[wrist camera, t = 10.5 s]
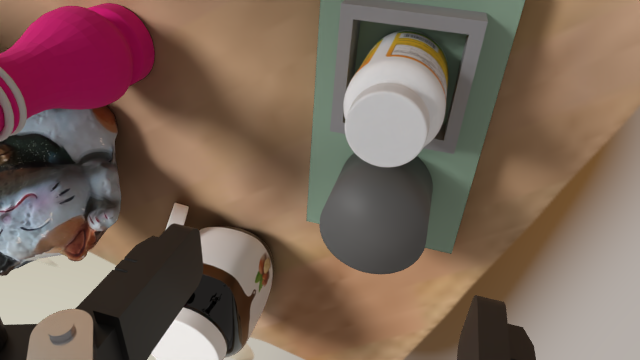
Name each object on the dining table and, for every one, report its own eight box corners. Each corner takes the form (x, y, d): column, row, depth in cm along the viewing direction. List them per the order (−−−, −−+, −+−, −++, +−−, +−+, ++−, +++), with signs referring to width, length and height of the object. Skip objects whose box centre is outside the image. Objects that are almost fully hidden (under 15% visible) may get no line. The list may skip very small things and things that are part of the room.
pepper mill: (66, 4, 36) (-266, 87, 20) (140, -12, 34) (-169, 66, 18) (104, 90, 40) (-154, 222, 23) (173, 81, 37) (-60, 221, 21)
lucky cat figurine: (110, 67, 38) (63, 207, 30) (159, 156, 48) (134, 280, 40) (-65, 81, 39) (-157, 223, 30) (20, 167, 48) (-33, 292, 40)
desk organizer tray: (331, -45, 29) (291, -29, 23) (526, -24, 27) (545, 0, 20) (313, 207, 40) (282, 267, 33) (452, 238, 38) (448, 309, 31)
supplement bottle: (381, 119, 32) (353, 191, 24) (353, 45, 30) (312, 97, 22) (459, 96, 30) (457, 167, 22) (435, 15, 27) (423, 60, 19)
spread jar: (279, 299, 47) (231, 400, 38) (182, 279, 50) (114, 368, 40) (272, 203, 41) (212, 295, 31) (162, 186, 44) (75, 266, 34)
